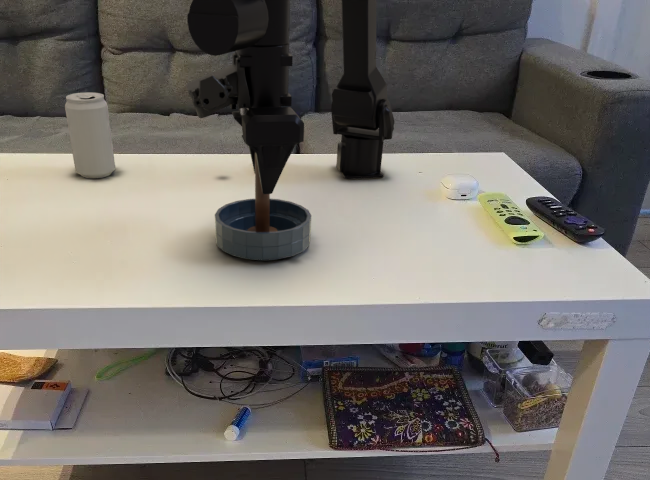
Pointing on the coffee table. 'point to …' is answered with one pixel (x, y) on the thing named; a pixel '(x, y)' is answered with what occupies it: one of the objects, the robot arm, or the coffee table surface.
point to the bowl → (263, 245)
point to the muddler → (261, 207)
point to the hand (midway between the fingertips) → (263, 183)
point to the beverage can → (90, 134)
